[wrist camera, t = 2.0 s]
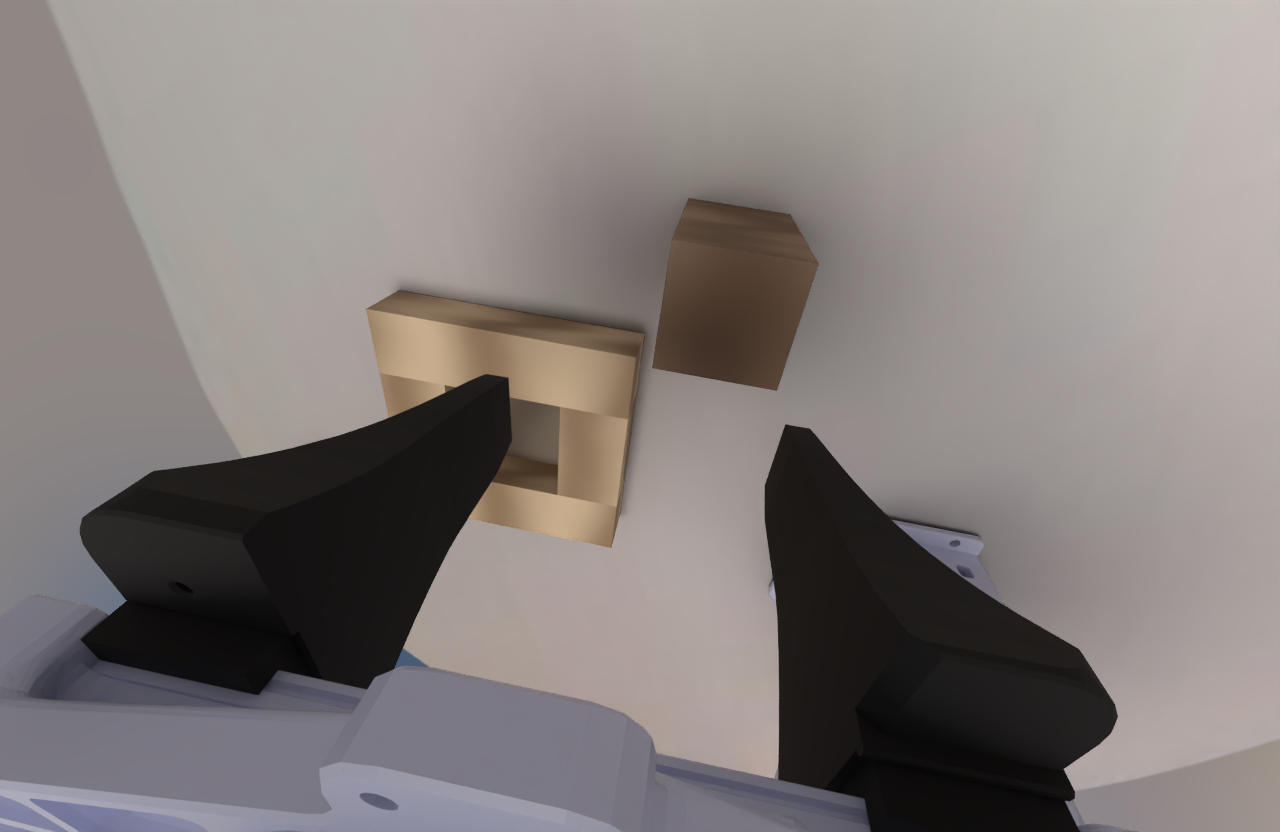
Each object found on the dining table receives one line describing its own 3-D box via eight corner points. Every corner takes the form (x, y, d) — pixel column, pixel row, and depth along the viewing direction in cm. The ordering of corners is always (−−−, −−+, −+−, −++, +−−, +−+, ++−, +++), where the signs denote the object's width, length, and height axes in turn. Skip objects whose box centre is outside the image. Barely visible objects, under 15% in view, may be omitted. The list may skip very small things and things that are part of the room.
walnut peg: (789, 214, 19) (818, 263, 13) (762, 311, 21) (776, 390, 15) (688, 198, 19) (671, 239, 13) (672, 295, 21) (652, 368, 15)
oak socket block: (644, 333, 22) (635, 357, 20) (619, 515, 29) (611, 547, 27) (398, 290, 23) (366, 308, 21) (429, 478, 30) (407, 506, 28)
